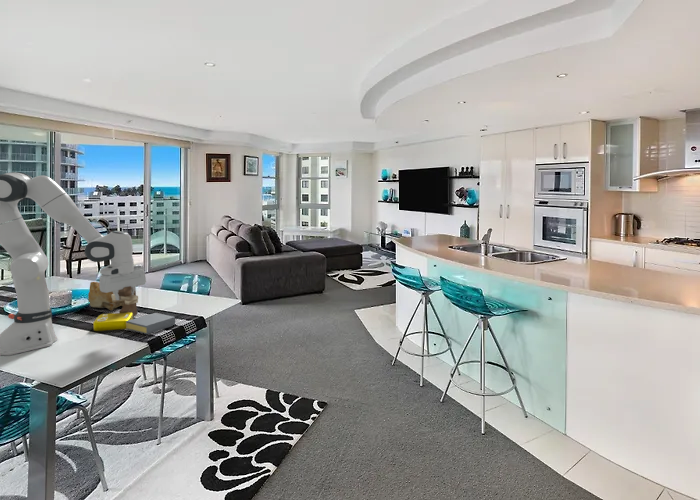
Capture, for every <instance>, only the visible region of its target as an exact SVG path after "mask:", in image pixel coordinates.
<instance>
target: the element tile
mask: <svg viewBox="0 0 700 500" xmlns="http://www.w3.org/2000/svg"><path fill="white" fill-rule="evenodd" d="M132 319H134V316H133V313H131V312H128V313H119V312H116V313H115V312H112V313H102V314H100V315H98V316H97V317H96V319H94V321H93V322H92V323H93V331H94V332H103V331H113V330H114V331H115V330H117V331H118V330H128V329H127V328H126V321H128V320H132Z"/></svg>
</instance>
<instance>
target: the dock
mask: <svg viewBox="0 0 700 500" xmlns="http://www.w3.org/2000/svg"><path fill="white" fill-rule="evenodd" d="M173 325H174V326H176V316H173V315H167V314H164V313H158V312H154V313H150V314H146V315H143V316H140V317H135V318H133V319H132V320H128V321H126V328H127V329H126V330H128V331H131V332H135V331H136V332H135V333H139V332H140V334H143V333H144V334H145V335H149V334H152V333H155V331H156V332H158V330H159V331H162V330H164V329H167V328H171V327H173ZM161 329H162V330H161Z"/></svg>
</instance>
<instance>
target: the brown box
mask: <svg viewBox="0 0 700 500" xmlns="http://www.w3.org/2000/svg"><path fill="white" fill-rule="evenodd" d="M118 295H119V296H124V297H126V296H130V295H132V294H131V286H129V287H124V288H123V289H122V290H118Z"/></svg>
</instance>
